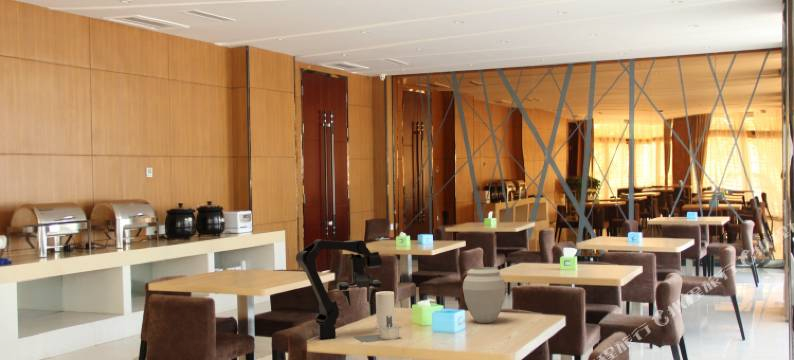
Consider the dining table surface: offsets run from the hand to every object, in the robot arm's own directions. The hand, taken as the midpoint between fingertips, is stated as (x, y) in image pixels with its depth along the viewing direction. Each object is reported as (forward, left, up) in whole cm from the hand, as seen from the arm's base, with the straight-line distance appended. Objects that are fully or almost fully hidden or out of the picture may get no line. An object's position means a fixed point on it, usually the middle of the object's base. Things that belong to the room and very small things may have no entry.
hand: (359, 305), depth 350 cm
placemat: (+3, -14, -12) cm, 19 cm away
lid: (+7, -17, -8) cm, 20 cm away
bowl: (+7, -17, -12) cm, 22 cm away
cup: (+14, +7, -13) cm, 20 cm away
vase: (+59, -1, -13) cm, 60 cm away
